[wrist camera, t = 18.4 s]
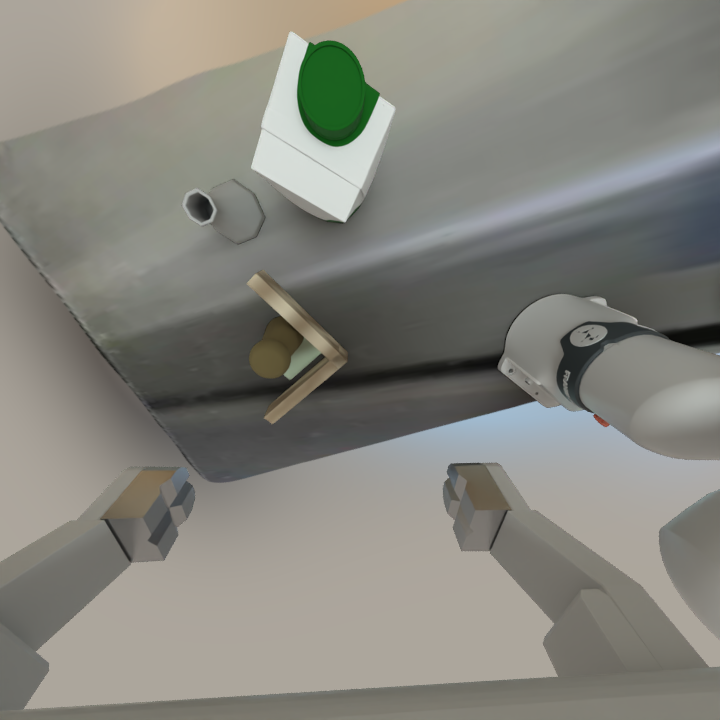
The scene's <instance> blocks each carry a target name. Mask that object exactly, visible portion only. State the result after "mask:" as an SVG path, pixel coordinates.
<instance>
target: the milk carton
mask: <svg viewBox="0 0 720 720" xmlns="http://www.w3.org/2000/svg"><path fill="white" fill-rule="evenodd" d="M379 95H380V93H379V92H377V91H376V90H375V89H373V88H372V87H371V86H369V85H368V84H366V82H365V79H364V74H363V71H362V68H361V65H360V63H359V61H358V59H357V58H356V56H355V55H354V53H353V52H352V51H351V50H350V49H349V48H348V47H346V46H345V45H343V44H342V43H339V42H336V41H323V42H320V43H318V44H316V45H314V44H312V43H311V42H310V43H309V44H308V43H307V42H306V41H304V40H303V39H302V38H300V37H299V36H297V35H296V34H295V33H294V32H290V33H289V36H288V39H287V42H286V45H285V49H284V52H283V55H282V59H281V62H280V65H279V69H278V72H277V75H276V79H275V82H274V85H273V89H272V92H271V95H270V99H269V102H268V106H267V108H266V110H265V113H264V116H263V120H262V124H261V129H262V131H261V135H260V138H259V142H258V145H257V148H256V152H255V155H254V159H253V162H252V166H251V168H252V169H253V170H254V171H255V172H257V173H258V174H259V175H260V176H261V177H262V178H264V179H265V180H266V181H267V182H268V183H270V184H271V185H272V186H273V187H274V188H275V189H277V190H278V191H279V192H280V193H281V194H282V195H284V196H285V197H286V198H287V199H288V200H290V201H291V202H292V203H294V204H295V205H297V206H298V207H300V208H301V209H303V210H304V211H306V212H308V213H310V214H312V215H314V216H316V217H318V218H320V219H322V220H325V221H327V222H338V223H345V222H346V221H347V220H348V219H349V218H350V217H351V216H352V215H353V214H354V213H355V212H356V210H357V209H358V208H359V207H360V205H361V203H362V202H363V200H364V199H365V197H366V194H367V192H368V190H369V188H370V185H371V183H372V181H373V178H374V176H375V173H376V170H377V168H378V165H379V163H380V159H381V157H382V154H383V151H384V148H385V144H386V141H387V138H388V134H389V131H390V127H391V124H392V120H393V117H394V113H395V107H394V106H393V105H392V104H390V103H389V102H387V101H386V100H384V99H383V98H381V97H380V96H379Z"/></svg>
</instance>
